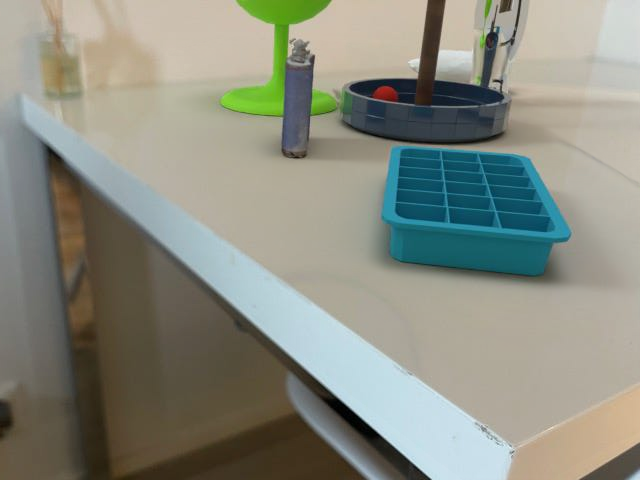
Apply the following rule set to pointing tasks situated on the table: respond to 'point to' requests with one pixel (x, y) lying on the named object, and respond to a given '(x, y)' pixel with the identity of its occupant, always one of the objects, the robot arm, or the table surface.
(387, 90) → the cherry tomato
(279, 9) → the wineglass
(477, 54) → the beer glass
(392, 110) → the bowl
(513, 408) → the table surface
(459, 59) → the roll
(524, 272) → the ice cube tray
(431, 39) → the wooden towel stand
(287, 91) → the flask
